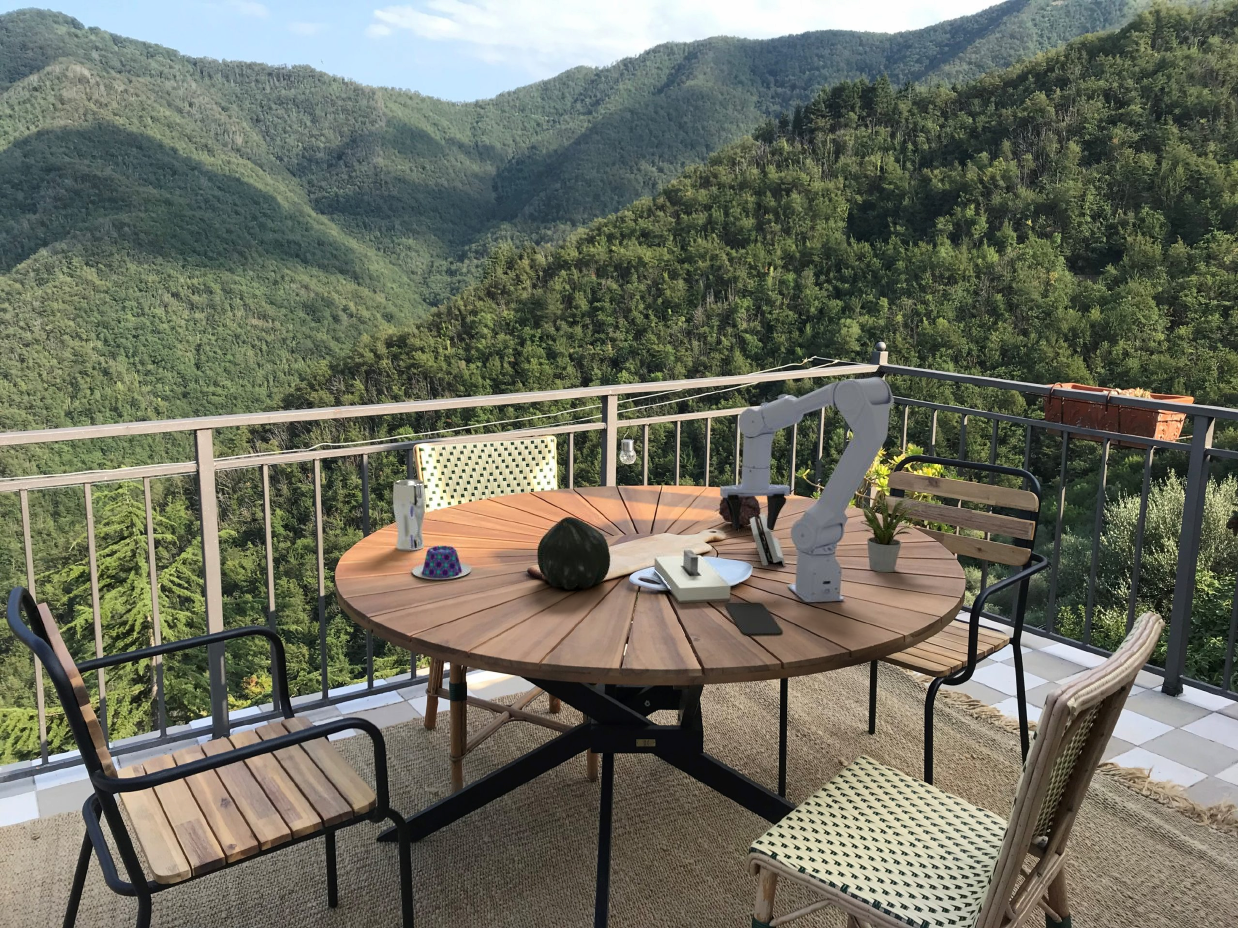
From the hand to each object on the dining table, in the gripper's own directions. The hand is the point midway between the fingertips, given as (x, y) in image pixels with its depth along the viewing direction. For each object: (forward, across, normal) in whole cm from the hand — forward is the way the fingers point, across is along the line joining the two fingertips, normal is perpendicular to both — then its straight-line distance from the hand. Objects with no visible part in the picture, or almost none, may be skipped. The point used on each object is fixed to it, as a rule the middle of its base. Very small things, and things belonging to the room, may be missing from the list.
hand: (753, 529), depth 181 cm
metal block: (+9, +15, +6) cm, 18 cm away
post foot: (+9, +15, +6) cm, 19 cm away
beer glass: (+10, +71, -28) cm, 77 cm away
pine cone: (+10, -10, -36) cm, 39 cm away
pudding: (+10, +64, -9) cm, 65 cm away
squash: (+10, +38, +2) cm, 39 cm away
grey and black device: (+10, -8, -12) cm, 18 cm away
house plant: (+10, -31, +1) cm, 32 cm away
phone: (+10, +9, +26) cm, 29 cm away
